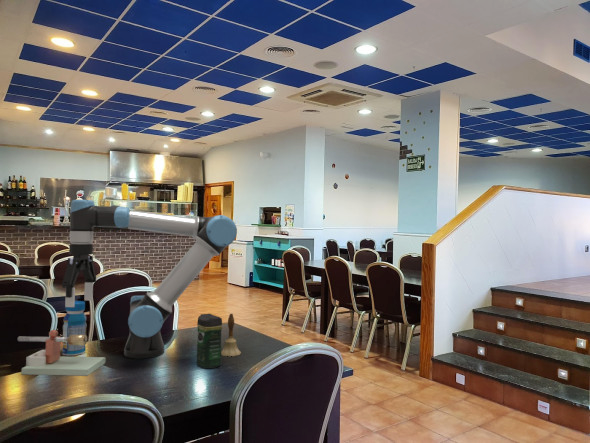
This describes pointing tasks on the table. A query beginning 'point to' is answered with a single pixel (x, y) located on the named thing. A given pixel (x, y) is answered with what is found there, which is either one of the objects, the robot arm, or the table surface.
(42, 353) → the ball
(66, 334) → the beverage bottle
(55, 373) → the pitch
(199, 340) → the coffee jar
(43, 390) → the table surface
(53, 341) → the player rod
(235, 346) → the hand bell
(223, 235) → the robot arm
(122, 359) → the table surface
